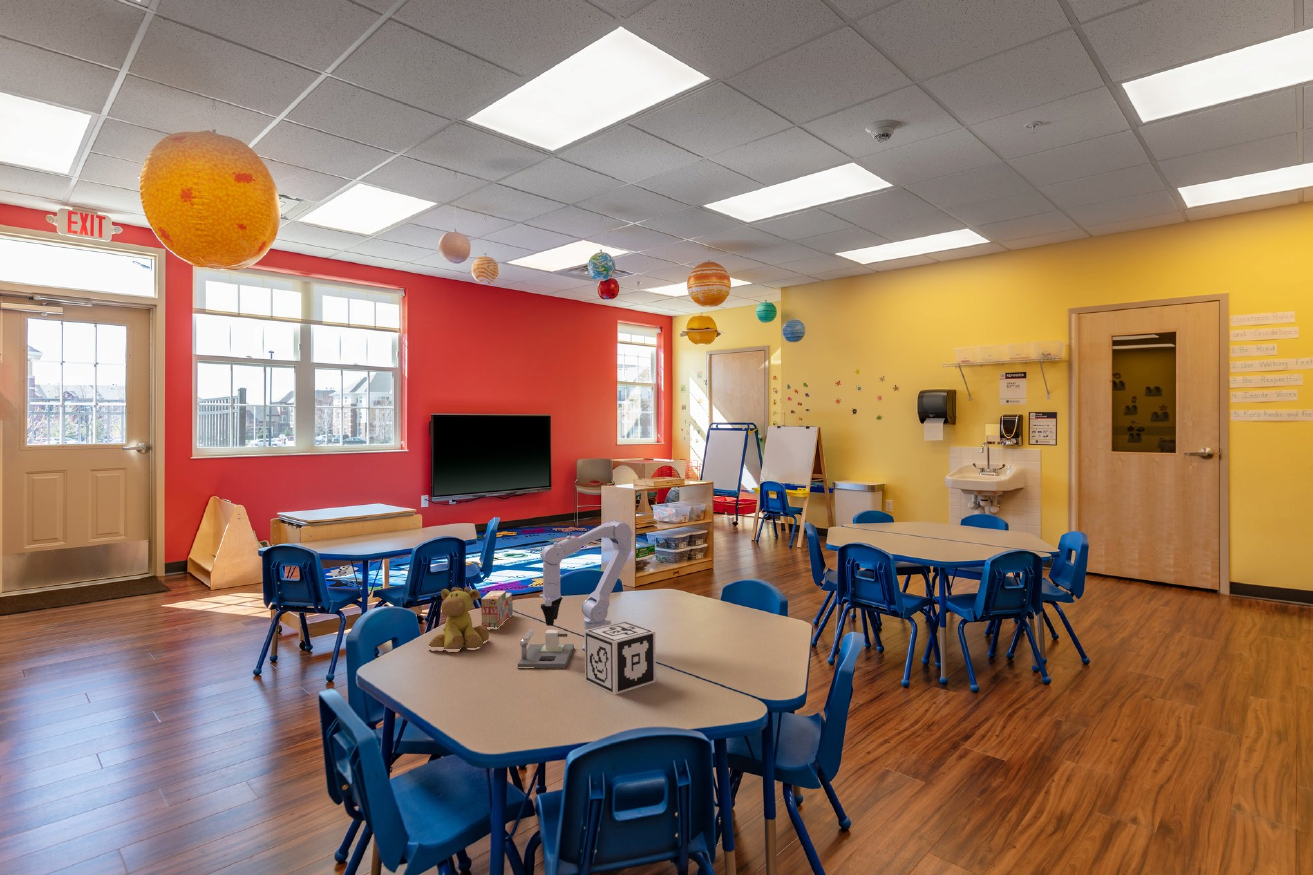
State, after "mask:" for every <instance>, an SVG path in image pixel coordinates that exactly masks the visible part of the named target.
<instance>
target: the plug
mask: <svg viewBox="0 0 1313 875" xmlns="http://www.w3.org/2000/svg"><path fill="white" fill-rule="evenodd" d="M544 634H545V635H544V636H545V637H544V638H545V640H544V641H545V643H544V644H545V648H546V650H558V648H559V644H560V637H561V638H563V637H564V638H567V637H568V633H560V629H547V630H546V631H545V633H544Z"/></svg>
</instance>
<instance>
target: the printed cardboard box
mask: <svg viewBox="0 0 1313 875" xmlns="http://www.w3.org/2000/svg"><path fill="white" fill-rule="evenodd" d="M480 601H481V609H480V610H481V611H480V612H481V625H483V626H485V627H494V628H495V627H497V628H498V627H499V626H500V625H501V624H502V623H503V622H504V621H505V620H506V619H507V618H509V617H510V616H511V615H512V614H513V612H514V611H513V606H514V604H513V593H512V592H507V590H491V591H489V592H488V593H486V595H484V596H483V597H481V600H480ZM513 615H514V614H513ZM513 615H512V616H513ZM512 616H511V617H512ZM511 617H510V618H511ZM510 618H509V619H510Z"/></svg>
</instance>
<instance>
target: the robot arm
mask: <svg viewBox="0 0 1313 875" xmlns="http://www.w3.org/2000/svg"><path fill="white" fill-rule="evenodd" d="M633 535H634V534H633V531H632V529H631V527H630V525H629V524H627V523H625V522H621V521H618V520H610V521H608V522H604V523H602V524H600V525H599V526H596V527H595V528H593V529H591V530H589V531H587V532H586V533H585V532H584V533H583V534H581V535H580V536H575V535H567V536H566V537H565V539H563V540H560V541H558V542H557V541H555V542H553V545H550V544H549V545H546V546H544V547H543V549H541V553H540V554H539V556H540V558H541V560H542V561H543V562H542V564H543V565H542V566H543V567H542V594H539V598H541V599H543V600H544V603H541V604H540V609H541V610H542V613H543V616H544V620H545V625H546V626H548V627H553V626H554V624H555V620H558V615H559V611H560V605H561V603H562V601H563V597H562V594H561V562H562V561H563V559H566V558H568V557H570V556H572V555H574V554H576V553H578V552H580V551H581V549H582V547H583V546H585V545H587V544H590V543H593V542H595V541H597V540H600V539H603V538H605V539H609V540H610V541H611V543H612V546H613V548H614V551H613V553H612V555H611V557H610V558H609V562H608V563H607V565H606V568H605V569H604V572H603V574H602V575H601V578H600V579H599V582H598V584H597V585H596V588H595V589H594V591H592V592H591V593H590V594H589V595H588V597H587V598H586V600H584V601H583V603H582V605H581V612H582V614H583V615H584V619H583V629H584V631H583V636H584V637H583V645H582V647H581V650H585V630H588V629H593V628H597V627H601V626H606V625H610V624H612V621H611V620H606V618H607V616H608V612H609V610H608V609H609V606H610V596H611V594H612V592H613V591H614V590H613V589H614V587H615V586H616V583H617V582H618V579H619V577H620V575H621V573H622V571H623V569H624V567H625V564H626V562H627V561H628V558H629V557H630V554H631V552H632V537H633Z"/></svg>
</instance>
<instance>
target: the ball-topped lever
mask: <svg viewBox="0 0 1313 875" xmlns="http://www.w3.org/2000/svg"><path fill="white" fill-rule="evenodd" d="M534 634H535V627H530V628H528V629H527V631H526V632H525V634H524V635H523V637H522V638H521V639H520V640H519V645H520V647H521V646H526V645H527V646H528V643H529V642H530V640H531V638H532V637H533V635H534Z"/></svg>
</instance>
